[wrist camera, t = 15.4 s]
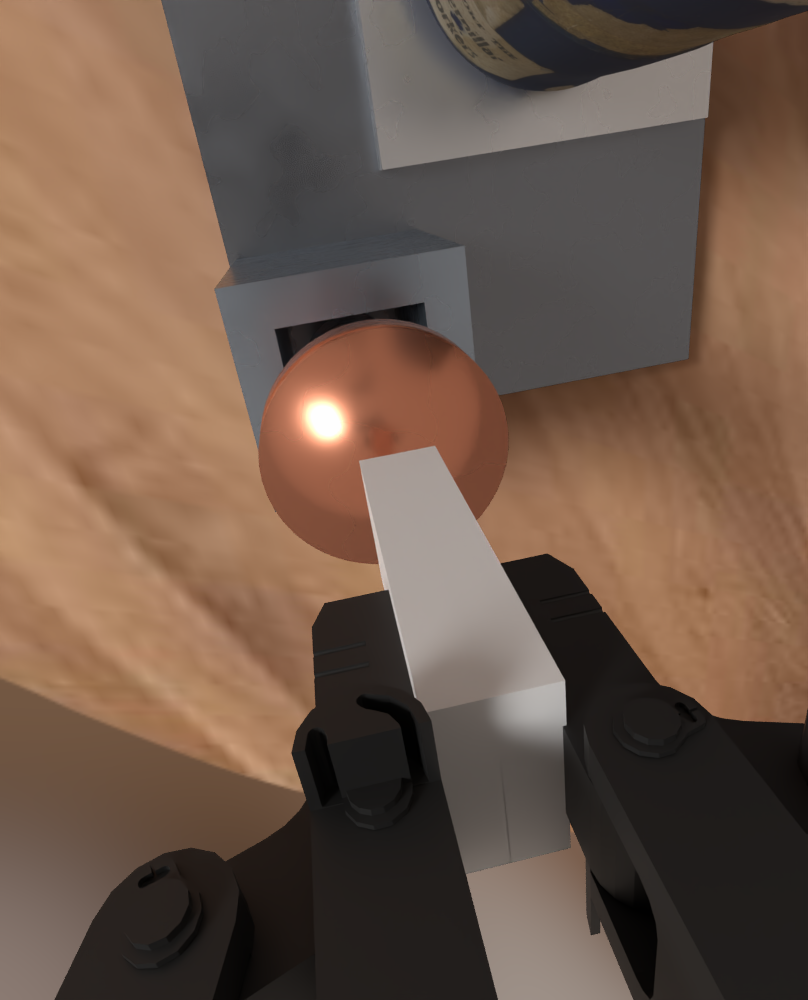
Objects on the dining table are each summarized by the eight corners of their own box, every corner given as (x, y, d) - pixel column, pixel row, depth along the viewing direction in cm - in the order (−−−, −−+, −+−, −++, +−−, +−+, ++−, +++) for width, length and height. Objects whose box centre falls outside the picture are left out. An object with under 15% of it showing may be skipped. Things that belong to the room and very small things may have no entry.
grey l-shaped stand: (109, -223, 20) (-25, -521, 11) (707, -288, 21) (977, -593, 13) (274, 427, 30) (268, 521, 22) (671, 351, 32) (809, 412, 23)
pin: (250, 293, 21) (227, 356, 13) (425, 263, 22) (499, 306, 14) (291, 456, 24) (290, 585, 16) (444, 426, 24) (515, 537, 17)
